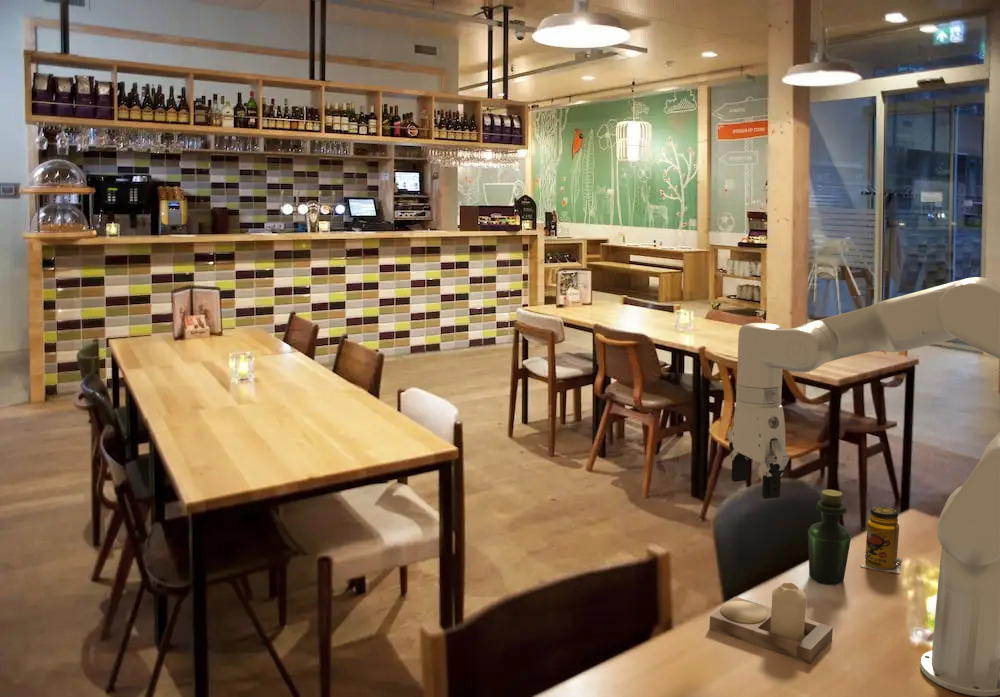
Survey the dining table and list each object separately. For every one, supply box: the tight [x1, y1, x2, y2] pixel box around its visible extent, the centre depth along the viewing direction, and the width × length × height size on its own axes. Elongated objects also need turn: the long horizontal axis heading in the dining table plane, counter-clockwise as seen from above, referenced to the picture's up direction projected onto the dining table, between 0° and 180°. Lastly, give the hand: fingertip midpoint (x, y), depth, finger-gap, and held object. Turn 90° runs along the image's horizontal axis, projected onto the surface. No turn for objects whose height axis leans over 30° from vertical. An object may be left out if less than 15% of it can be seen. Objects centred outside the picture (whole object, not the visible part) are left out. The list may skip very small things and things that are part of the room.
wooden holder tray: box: [709, 596, 834, 665], centre depth 151 cm, size 18×10×3 cm, turn 49°
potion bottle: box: [807, 489, 852, 586], centre depth 172 cm, size 8×8×18 cm
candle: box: [769, 582, 807, 642], centre depth 148 cm, size 6×6×10 cm
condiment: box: [860, 506, 903, 574], centre depth 180 cm, size 7×8×12 cm
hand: (754, 488), depth 153 cm, fingers open, 9 cm apart
